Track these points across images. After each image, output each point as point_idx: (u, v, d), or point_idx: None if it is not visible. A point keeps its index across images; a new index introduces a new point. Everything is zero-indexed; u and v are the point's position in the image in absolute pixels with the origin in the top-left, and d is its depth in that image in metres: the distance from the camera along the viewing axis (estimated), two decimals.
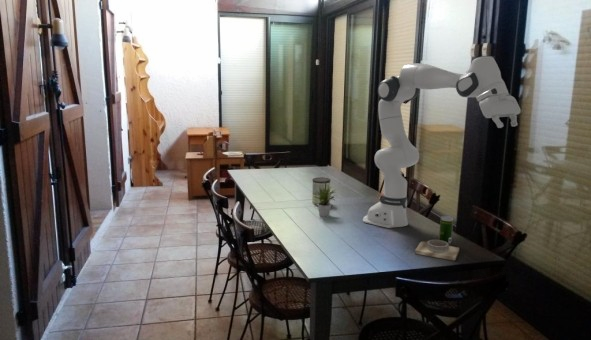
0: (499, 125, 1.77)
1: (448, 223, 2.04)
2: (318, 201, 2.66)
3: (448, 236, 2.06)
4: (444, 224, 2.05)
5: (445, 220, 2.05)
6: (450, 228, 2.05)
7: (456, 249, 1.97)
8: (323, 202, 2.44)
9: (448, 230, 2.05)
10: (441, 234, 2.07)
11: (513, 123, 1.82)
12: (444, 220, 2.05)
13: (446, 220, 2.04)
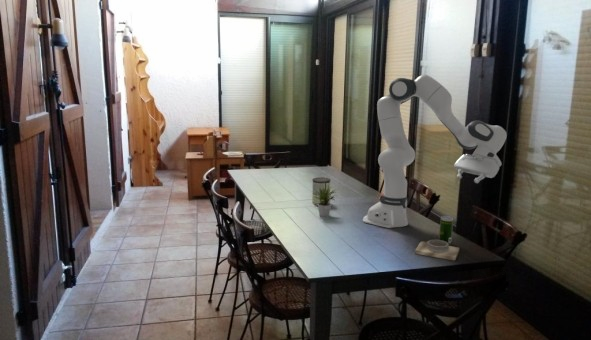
0: (478, 181, 2.06)
1: (448, 223, 2.04)
2: (318, 201, 2.66)
3: (448, 236, 2.06)
4: (444, 224, 2.05)
5: (445, 220, 2.05)
6: (450, 228, 2.05)
7: (456, 249, 1.97)
8: (323, 202, 2.44)
9: (448, 230, 2.05)
10: (441, 234, 2.07)
11: (460, 176, 2.14)
12: (444, 220, 2.05)
13: (446, 220, 2.04)
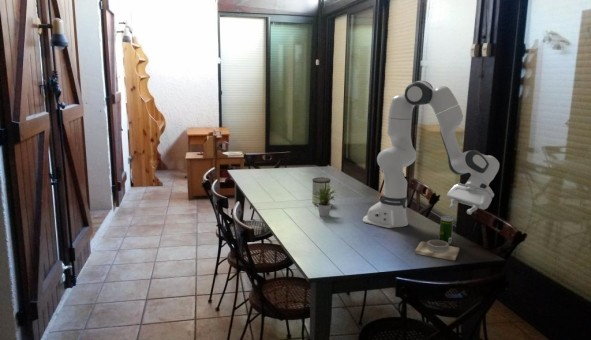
0: (470, 212, 2.06)
1: (448, 223, 2.04)
2: (318, 201, 2.66)
3: (448, 236, 2.06)
4: (444, 224, 2.05)
5: (445, 220, 2.05)
6: (450, 228, 2.05)
7: (456, 249, 1.97)
8: (323, 202, 2.44)
9: (448, 230, 2.05)
10: (441, 234, 2.07)
11: (453, 207, 2.14)
12: (444, 220, 2.05)
13: (446, 220, 2.04)
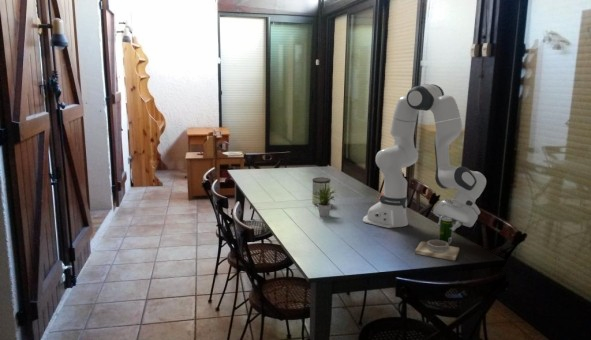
0: (453, 229, 2.04)
1: (448, 223, 2.04)
2: (318, 201, 2.66)
3: (448, 236, 2.06)
4: (444, 224, 2.05)
5: (445, 220, 2.05)
6: None
7: (456, 249, 1.97)
8: (323, 202, 2.44)
9: (448, 230, 2.05)
10: (441, 234, 2.07)
11: None
12: (444, 220, 2.05)
13: (446, 220, 2.04)
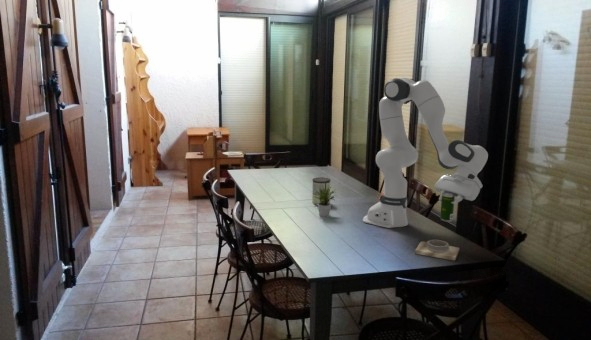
0: (455, 203, 2.00)
1: (449, 199, 2.01)
2: (318, 201, 2.66)
3: (450, 213, 2.02)
4: (446, 200, 2.01)
5: (446, 196, 2.01)
6: (451, 204, 2.01)
7: (456, 249, 1.97)
8: (323, 202, 2.44)
9: (450, 207, 2.01)
10: (442, 210, 2.03)
11: None
12: (445, 196, 2.01)
13: (447, 196, 2.01)
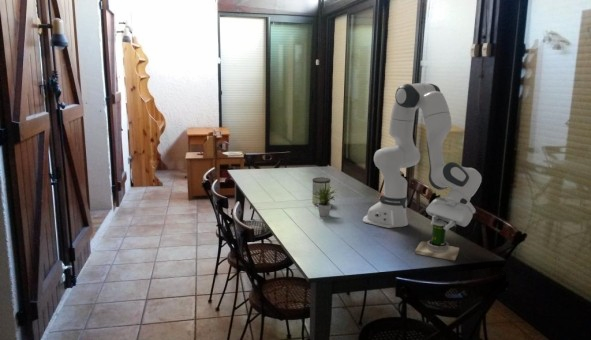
0: (447, 229, 1.92)
1: (440, 228, 1.93)
2: (318, 201, 2.66)
3: (441, 242, 1.94)
4: (436, 229, 1.94)
5: (437, 225, 1.93)
6: (442, 233, 1.94)
7: (456, 249, 1.97)
8: (323, 202, 2.44)
9: (440, 236, 1.94)
10: (433, 239, 1.96)
11: None
12: (436, 225, 1.94)
13: (438, 225, 1.93)
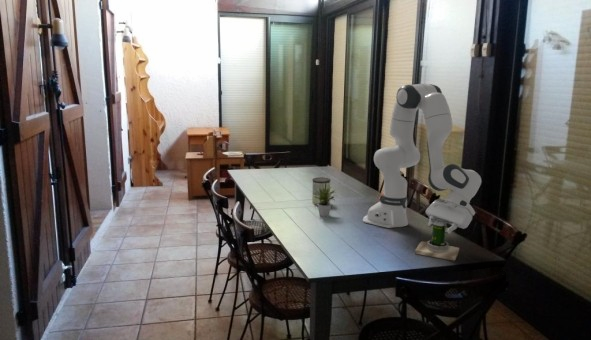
0: (449, 232, 1.91)
1: (440, 228, 1.93)
2: (318, 201, 2.66)
3: (441, 242, 1.94)
4: (436, 229, 1.94)
5: (437, 225, 1.93)
6: (442, 233, 1.94)
7: (456, 249, 1.97)
8: (323, 202, 2.44)
9: (440, 236, 1.94)
10: (433, 239, 1.96)
11: (432, 225, 1.99)
12: (436, 225, 1.94)
13: (438, 225, 1.93)
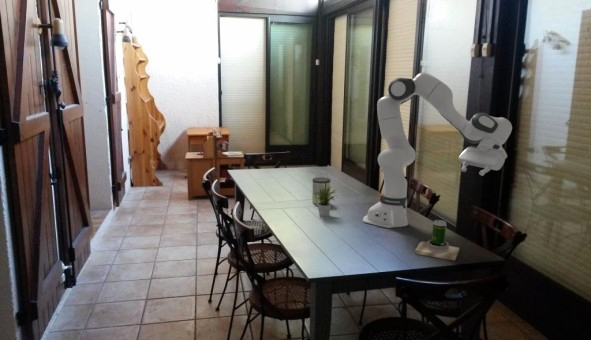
0: (483, 173, 2.02)
1: (440, 228, 1.93)
2: (318, 201, 2.66)
3: (441, 242, 1.94)
4: (436, 229, 1.94)
5: (437, 225, 1.93)
6: (442, 233, 1.94)
7: (456, 249, 1.97)
8: (323, 202, 2.44)
9: (440, 236, 1.94)
10: (433, 239, 1.96)
11: (465, 169, 2.10)
12: (436, 225, 1.94)
13: (438, 225, 1.93)
